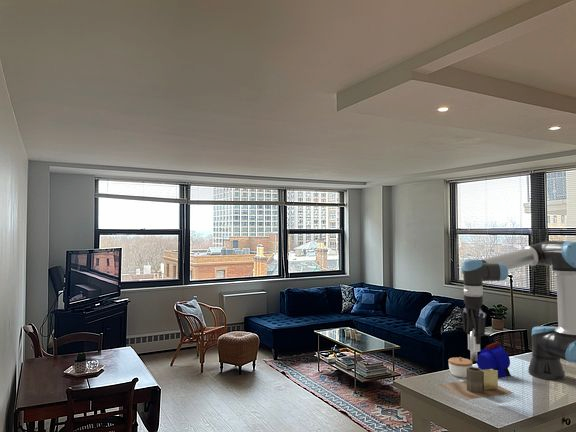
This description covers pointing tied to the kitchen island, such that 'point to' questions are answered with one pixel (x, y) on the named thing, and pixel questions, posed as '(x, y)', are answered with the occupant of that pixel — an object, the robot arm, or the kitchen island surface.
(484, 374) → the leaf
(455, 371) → the lidded jar
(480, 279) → the robot arm
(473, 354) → the pin
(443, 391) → the kitchen island surface
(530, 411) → the kitchen island surface
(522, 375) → the kitchen island surface
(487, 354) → the alarm clock
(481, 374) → the jig
